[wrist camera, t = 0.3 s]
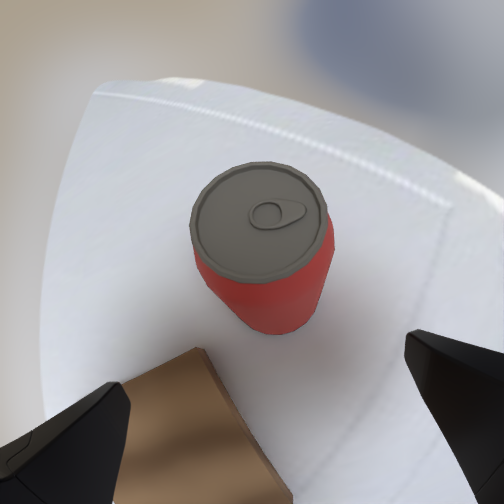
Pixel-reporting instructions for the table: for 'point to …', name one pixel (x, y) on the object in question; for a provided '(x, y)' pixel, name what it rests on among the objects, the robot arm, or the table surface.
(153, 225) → the table surface
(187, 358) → the walnut block
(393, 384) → the table surface
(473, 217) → the table surface
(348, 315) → the table surface
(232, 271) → the beer can
